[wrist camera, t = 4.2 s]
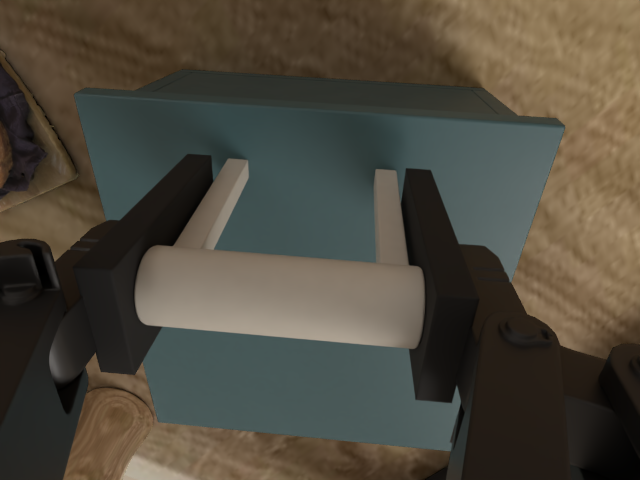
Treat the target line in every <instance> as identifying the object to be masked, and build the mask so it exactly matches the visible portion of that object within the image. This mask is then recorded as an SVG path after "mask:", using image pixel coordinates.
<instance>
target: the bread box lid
mask: <svg viewBox="0 0 640 480" xmlns="http://www.w3.org/2000/svg"><path fill="white" fill-rule="evenodd" d="M74 98H75V102H76V106H77V110H78V114H79V118H80V121H81V125H82V129H83V133H84V137H85V141H86V145H87V149H88V152H89V156H90V160H91V164H92V168H93V172H94V176H95V179H96V183H97V187H98V191H99V195H100V199H101V203H102V207H103V210H104V214H105V218H106V221H108V220H121V219H122V218H123V217H124V216H125V215H126V214H127V213H128V212H129V211H130V210H131V209H132V208H133V207H134V206H135V205H136V204H137V203H138V202H139V201H140V200H141V199H142V198H143V197H144V196H145V195H146V194H147V193H148V192H149V191H150V190H151V189H152V188H153V187H154V186H155V185H156V184H157V183H158V182H159V181H160V180H161V179H162V178H163V177H164V176H165V175H166V174H167V173H168V172H169V171H170V170H171V169H172V168H173V167H174V166H175V165H176V164H178V163H179V162H180V161H181V160H182V159H183V158H184V157H185V156H186V155H187V154H200V155H211V158H212V171H213V183H212V185H211V187H210V188H209V190H208V191H207V193H206V195H205V196H204V198H203V199H202V201H201V203H200V204H199V206H198V207H197V209H196V211H195V212H194V214H193V215H192V217H191V219H190V220H189V222H188V223H187V225H186V226H185V228H184V230H183V231H182V233H181V234H180V236H179V238H178V239H177V241H176V242H175V244H174V246H162V245H156V246H153V247H151V248H149V249H148V250H147V252H146V253H145V255H144V256H143V258H142V260H141V262H140V265H139V268H138V271H137V275H136V281H135V289H134V302H135V309H136V313H137V316H138V318H139V320H140V321H141V322H142V323H144V324H146V325H152V326H163V327H162V329H161V330H160V332H159V334H158V336H157V337H156V339H155V341H154V343H153V344H152V346H151V348H150V349H149V351H148V353H147V355H146V356H145V358H144V360H143V365H144V369H145V373H146V377H147V381H148V385H149V389H150V392H151V396H152V400H153V404H154V408H155V412H156V416H157V420H158V422H162V423H172V424H182V425H192V426H202V427H212V428H222V429H232V430H242V431H252V432H262V433H272V434H282V435H292V436H302V437H312V438H322V439H332V440H342V441H352V442H362V443H372V444H382V445H392V446H402V447H412V448H422V449H432V450H442V451H451V447H452V443H450V439H451V436H452V432H453V429H454V425H455V421H456V418H457V414H458V411H459V407H460V404H461V400H460V396H459V391H458V387H457V386H456V389H455V393H454V397H453V401H452V403H443V402H432V401H420V400H415V392H414V385H413V377H412V370H411V362H410V354H409V349H415V348H417V347H418V345H419V343H420V340H421V337H422V332H423V327H424V319H425V306H426V289H425V279H424V274H423V271H422V269H421V268H420V267H418V266H409V260H408V253H407V245H406V238H405V231H404V223H403V216H402V209H401V199H402V192H403V185H404V178H405V171H406V168H412V169H427V170H431V172H432V174H433V177H434V180H435V182H436V185H437V187H438V190H439V193H440V195H441V198H442V201H443V203H444V206H445V209H446V211H447V214H448V217H449V219H450V222H451V224H452V227H453V230H454V232H455V235H456V238H457V240H458V243H459V244H467V245H481V246H486V247H487V248H488V249H489V250H490V251H492V252H493V253H494V254H495V255H496V256H498V257H499V259H500V261H501V263H502V265H503V267H504V269H505V270H504V272H506V273H507V275H508V277H509V279H510V282H511V281H512V279H513V276H514V273H515V270H516V267H517V264H518V261H519V259H520V256H521V253H522V250H523V247H524V244H525V241H526V239H527V236H528V233H529V230H530V227H531V224H532V221H533V219H534V216H535V213H536V210H537V207H538V204H539V201H540V199H541V196H542V193H543V190H544V187H545V184H546V181H547V179H548V176H549V173H550V170H551V167H552V164H553V161H554V159H555V156H556V153H557V150H558V147H559V144H560V141H561V139H562V136H563V133H564V130H565V125H564V124H563V123H562V122H560V121H559V120H558V119H557V118H546V117H530V116H515V115H499V114H484V113H469V112H453V111H438V110H423V109H407V108H392V107H376V106H361V105H346V104H330V103H315V102H299V101H284V100H269V99H253V98H238V97H223V96H207V95H192V94H176V93H161V92H146V91H130V90H115V89H100V88H84V89H82V90H80V91H78V92H76V93H75V94H74Z"/></svg>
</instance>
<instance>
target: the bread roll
mask: <svg viewBox="0 0 640 480" xmlns="http://www.w3.org/2000/svg"><path fill="white" fill-rule="evenodd" d="M5 56H6V54H5V53H4V52H3V51H1V50H0V213H1V212H2V211H4V210H6V209H8V208H11V207H14V206H16V205H18V204H20V203H25V202H27V201H28V200H29V199H32V198H34V197H36V196H39V195H41V194H43V193H45V192H47V191H50V190H52V189H54V188H56V187H59V186H61V185H64V184H66V183H67V182H70V181H72V180H75V179H76V178H77V176H79V175H78V174H77V172H76V169H75V167H74V164H73V165H72V161H71V160H70V156H69V155H68V154H67V153H66V149H65V148H64V146H63V145H62V143H61V140H60V141H59V140H58V138H57V136H58V135H57V134H55V131H53V130H52V127H54V126H52V125H49V122H48V120H47V119H46V118H45V117H44V116H45V115H46V114H44V112H43V111H42V109H41V108H40V106H37V105H36V101H35V100H34V98H33V97H32V96H33V94H31V93H30V92H29V90H28V89H27V88H26V87H25V85H24V84H23V82H22V80H21V79H20V77H19V76H18V75H16V74H15V72H14V70H13V69H12V67H11V66H10V64H9V63H8V62H6V60H5Z"/></svg>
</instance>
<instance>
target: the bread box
mask: <svg viewBox="0 0 640 480" xmlns="http://www.w3.org/2000/svg"><path fill="white" fill-rule="evenodd" d="M135 91H146V92H161V93H176V94H192V95H207V96H223V97H238V98H253V99H269V100H284V101H299V102H315V103H330V104H346V105H361V106H376V107H392V108H407V109H423V110H438V111H453V112H469V113H484V114H499V115H515V116H518V115H516V114H515V113H514V112H513V111H511V110H510V109H509V108H508V107H507V106H505V105H504V104H503V103H502V102H500V101H499V100H498V99H497V98H495V97H494V96H493V95H492V94H490V93H489V92H488V91H486V90H485V89H484V88H473V87H456V86H440V85H424V84H408V83H392V82H376V81H360V80H344V79H328V78H312V77H296V76H280V75H264V74H248V73H232V72H216V71H200V70H184V69H182V70H180V71H178V72H175V73H173V74H171V75H168V76H166V77H164V78H162V79H160V80H157V81H155V82H153V83H151V84H148V85H146V86H144V87H142V88H139V89H137V90H135Z"/></svg>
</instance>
